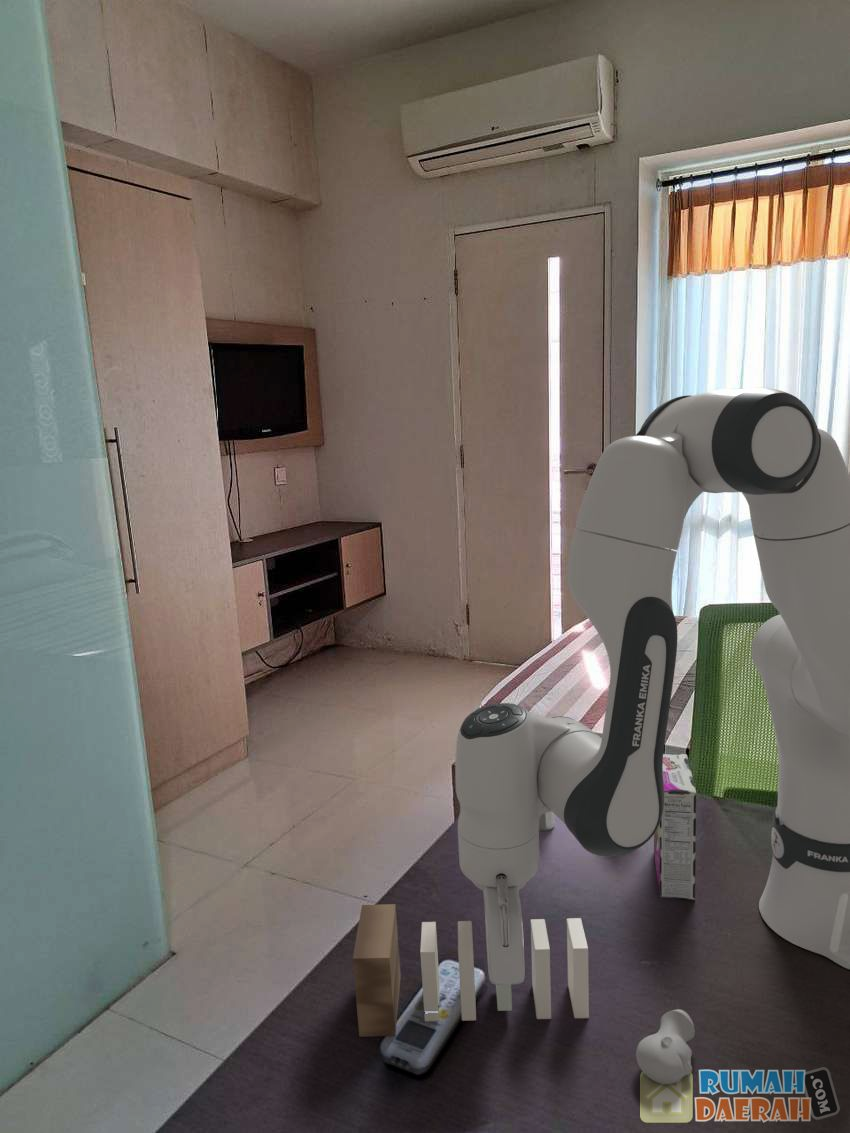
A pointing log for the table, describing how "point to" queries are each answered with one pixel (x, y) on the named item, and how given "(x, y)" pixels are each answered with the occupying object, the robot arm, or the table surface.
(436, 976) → the domino
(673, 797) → the candy bar box
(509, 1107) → the table surface
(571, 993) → the domino
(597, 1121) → the table surface
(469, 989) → the domino
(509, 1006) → the domino
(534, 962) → the domino
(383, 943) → the end block
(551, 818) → the milkshake
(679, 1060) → the smooth white sculpture
